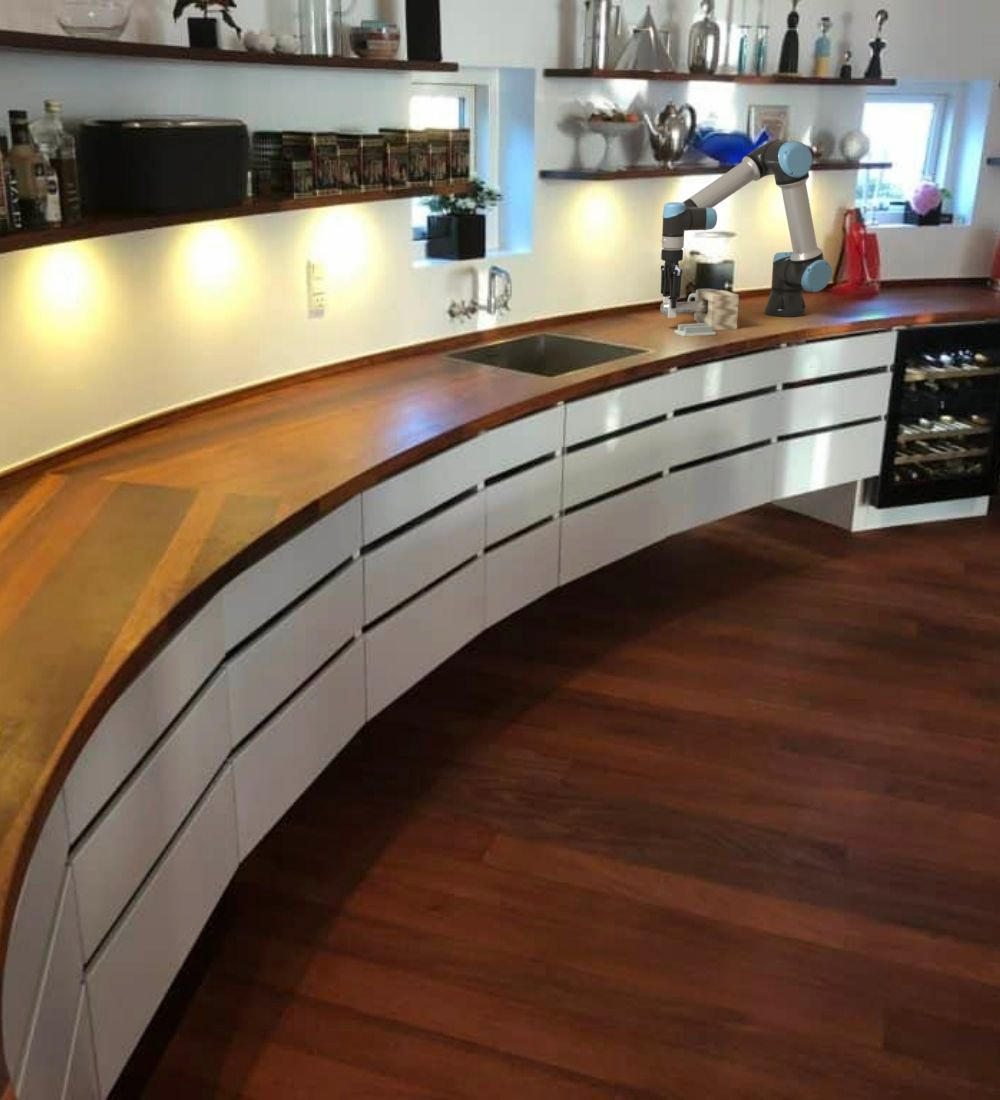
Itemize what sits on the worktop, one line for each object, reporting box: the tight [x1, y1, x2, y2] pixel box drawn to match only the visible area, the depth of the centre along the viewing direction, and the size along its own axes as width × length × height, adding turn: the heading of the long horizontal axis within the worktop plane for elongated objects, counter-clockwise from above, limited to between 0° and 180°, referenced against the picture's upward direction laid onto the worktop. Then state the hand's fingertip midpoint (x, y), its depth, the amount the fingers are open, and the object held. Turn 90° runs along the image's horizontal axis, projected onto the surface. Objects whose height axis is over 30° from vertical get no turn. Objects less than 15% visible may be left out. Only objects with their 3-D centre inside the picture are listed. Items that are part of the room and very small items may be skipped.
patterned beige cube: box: [696, 289, 740, 331], centre depth 434 cm, size 10×12×12 cm
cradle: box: [673, 322, 717, 337], centre depth 423 cm, size 12×8×3 cm, turn 106°
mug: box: [687, 288, 717, 322], centre depth 448 cm, size 12×8×11 cm
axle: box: [659, 300, 708, 316], centre depth 430 cm, size 22×4×4 cm, turn 106°
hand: (669, 316), depth 429 cm, fingers closed on axle, 4 cm apart
